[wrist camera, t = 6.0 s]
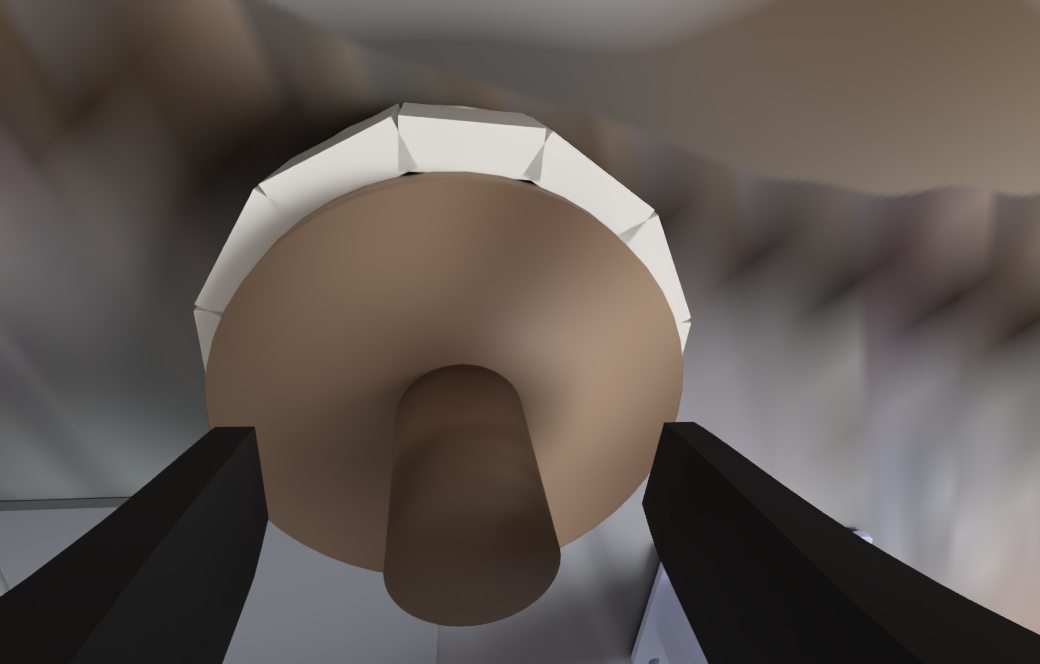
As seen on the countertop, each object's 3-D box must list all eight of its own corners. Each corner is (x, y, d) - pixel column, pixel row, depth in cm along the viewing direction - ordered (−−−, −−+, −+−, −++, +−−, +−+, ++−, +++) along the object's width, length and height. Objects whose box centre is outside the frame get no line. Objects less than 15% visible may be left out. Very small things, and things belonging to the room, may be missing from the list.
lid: (730, 220, 12) (907, 320, 7) (599, 552, 16) (663, 736, 12) (215, 119, 9) (32, 178, 5) (225, 540, 14) (132, 765, 10)
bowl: (669, 125, 14) (738, 145, 11) (601, 450, 19) (634, 529, 16) (222, 82, 12) (152, 92, 9) (273, 457, 17) (238, 548, 14)
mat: (444, 487, 19) (444, 496, 19) (436, 661, 23) (436, 670, 23) (-18, 502, 16) (-28, 511, 16) (71, 694, 21) (65, 705, 21)
